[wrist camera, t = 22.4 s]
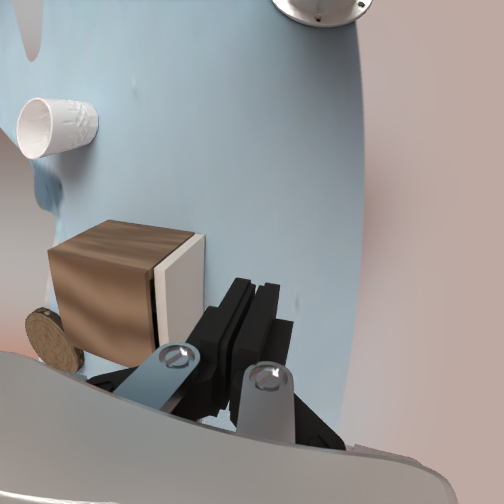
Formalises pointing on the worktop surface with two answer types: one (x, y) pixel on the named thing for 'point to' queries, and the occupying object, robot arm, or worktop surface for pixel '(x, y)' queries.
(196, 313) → the drawer
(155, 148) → the worktop surface
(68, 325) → the cabinet
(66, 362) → the brown round disc
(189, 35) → the worktop surface
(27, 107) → the white cup
